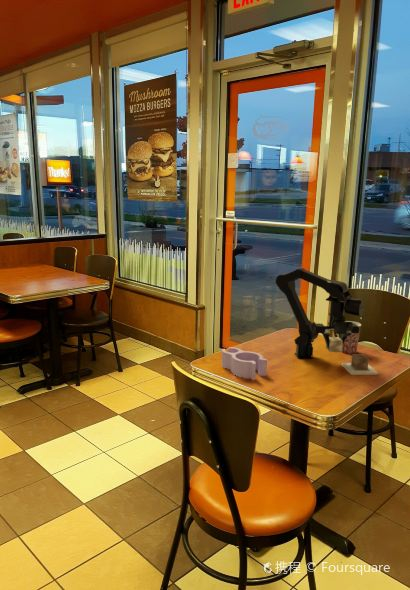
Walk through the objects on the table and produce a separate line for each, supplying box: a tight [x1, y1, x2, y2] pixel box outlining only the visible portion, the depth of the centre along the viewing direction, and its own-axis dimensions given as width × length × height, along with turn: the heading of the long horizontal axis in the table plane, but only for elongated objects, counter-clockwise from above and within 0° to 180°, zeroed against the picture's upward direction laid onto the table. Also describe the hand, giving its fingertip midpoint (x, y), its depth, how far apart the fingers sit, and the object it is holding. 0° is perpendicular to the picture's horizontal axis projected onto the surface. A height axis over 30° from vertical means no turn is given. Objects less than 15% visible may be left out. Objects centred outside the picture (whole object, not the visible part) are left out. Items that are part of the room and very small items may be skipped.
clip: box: [220, 346, 268, 381], centre depth 183 cm, size 20×12×7 cm, turn 41°
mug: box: [332, 320, 362, 355], centre depth 209 cm, size 13×9×14 cm
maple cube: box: [325, 336, 343, 353], centre depth 191 cm, size 5×5×5 cm
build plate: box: [341, 362, 379, 376], centre depth 187 cm, size 11×11×1 cm
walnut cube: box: [350, 353, 370, 370], centre depth 186 cm, size 5×5×5 cm
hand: (334, 347), depth 191 cm, fingers closed on maple cube, 5 cm apart
